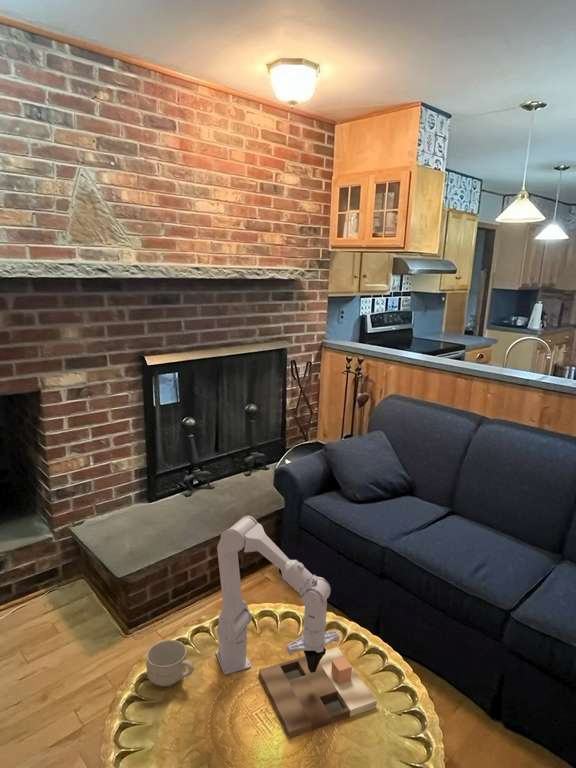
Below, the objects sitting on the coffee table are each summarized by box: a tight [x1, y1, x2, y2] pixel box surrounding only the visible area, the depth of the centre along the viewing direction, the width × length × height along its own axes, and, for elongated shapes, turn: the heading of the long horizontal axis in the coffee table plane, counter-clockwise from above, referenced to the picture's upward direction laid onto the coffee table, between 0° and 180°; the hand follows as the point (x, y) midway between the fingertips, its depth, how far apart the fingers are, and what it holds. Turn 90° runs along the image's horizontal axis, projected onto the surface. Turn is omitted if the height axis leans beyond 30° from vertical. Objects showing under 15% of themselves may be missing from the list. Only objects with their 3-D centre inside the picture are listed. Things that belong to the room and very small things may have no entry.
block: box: [331, 656, 353, 684], centre depth 135 cm, size 4×4×4 cm
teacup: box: [145, 639, 195, 687], centre depth 134 cm, size 14×11×8 cm
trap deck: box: [258, 646, 378, 740], centre depth 133 cm, size 21×25×2 cm
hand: (311, 669), depth 131 cm, fingers closed
